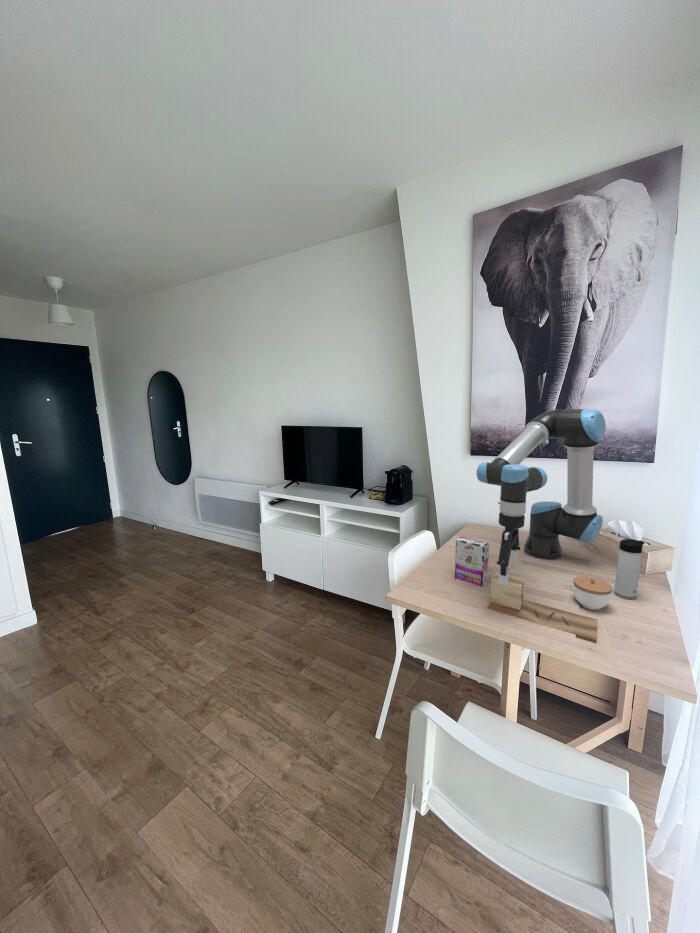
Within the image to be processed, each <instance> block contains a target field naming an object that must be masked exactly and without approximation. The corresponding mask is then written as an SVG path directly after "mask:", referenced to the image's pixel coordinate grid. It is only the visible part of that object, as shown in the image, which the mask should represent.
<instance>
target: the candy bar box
mask: <svg viewBox="0 0 700 933" xmlns="http://www.w3.org/2000/svg"><path fill="white" fill-rule="evenodd" d="M489 549H490V542H488V541H483V540H480V539H475V538H470V537H465V536H460V537H459V538H457V539H455V557H454V558H455V565H454V568H455V569H454V570H455V571H454V580H456V579H457V580H461V581H464V582H466V583H470V584H472V585H476V586H480V587H484V586H485V585H486V584H487V583H488V577H489V575H488V574H489V556H490V555H489V554H490V553H489V552H490V550H489Z"/></svg>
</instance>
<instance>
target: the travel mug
mask: <svg viewBox="0 0 700 933" xmlns="http://www.w3.org/2000/svg"><path fill="white" fill-rule="evenodd" d="M643 545H645V542H644V541H643V540H637V539H630V538H629V539H628V538H626V539H621V540H620V542H619V546H618V547H619V548H618V553H617V554H618V556H617V562H616V563H617V564H616V572H615V580H614V590H613V592H614V594H615V595H616V596H617V597H620V598H622V599H626V600H635V599H637V597H638V596H637V595H638V589H639V588H638V587H639V581H640V580H639V579H640V572H641V571H640V570H641V564H642V557H643V547H644V546H643Z"/></svg>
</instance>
